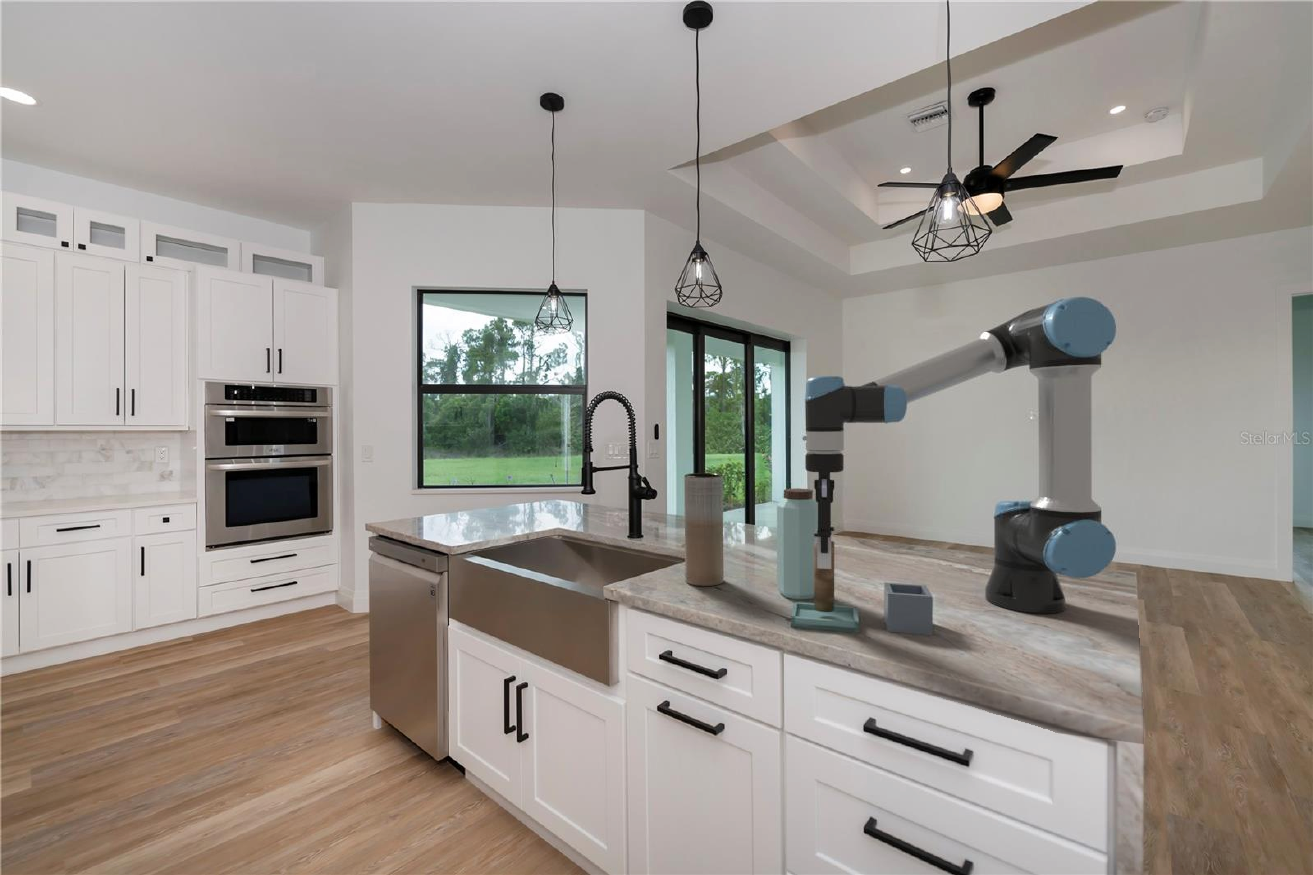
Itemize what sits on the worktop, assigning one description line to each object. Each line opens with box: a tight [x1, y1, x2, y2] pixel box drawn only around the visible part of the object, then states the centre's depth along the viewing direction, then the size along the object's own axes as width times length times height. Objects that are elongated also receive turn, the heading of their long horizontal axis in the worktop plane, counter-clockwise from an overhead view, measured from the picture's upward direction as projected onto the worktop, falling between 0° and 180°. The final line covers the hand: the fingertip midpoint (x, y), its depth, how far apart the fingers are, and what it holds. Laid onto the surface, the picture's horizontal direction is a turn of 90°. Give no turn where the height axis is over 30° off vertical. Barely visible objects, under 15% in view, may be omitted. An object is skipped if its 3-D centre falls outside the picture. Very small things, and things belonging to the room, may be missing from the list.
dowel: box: [813, 540, 835, 612], centre depth 118 cm, size 4×4×14 cm
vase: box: [683, 472, 725, 587], centre depth 148 cm, size 10×10×28 cm
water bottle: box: [776, 487, 818, 601], centre depth 136 cm, size 10×10×25 cm
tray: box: [790, 601, 860, 634], centre depth 118 cm, size 13×10×2 cm
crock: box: [883, 581, 934, 636], centre depth 115 cm, size 8×8×8 cm
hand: (824, 565), depth 118 cm, fingers closed on dowel, 4 cm apart
